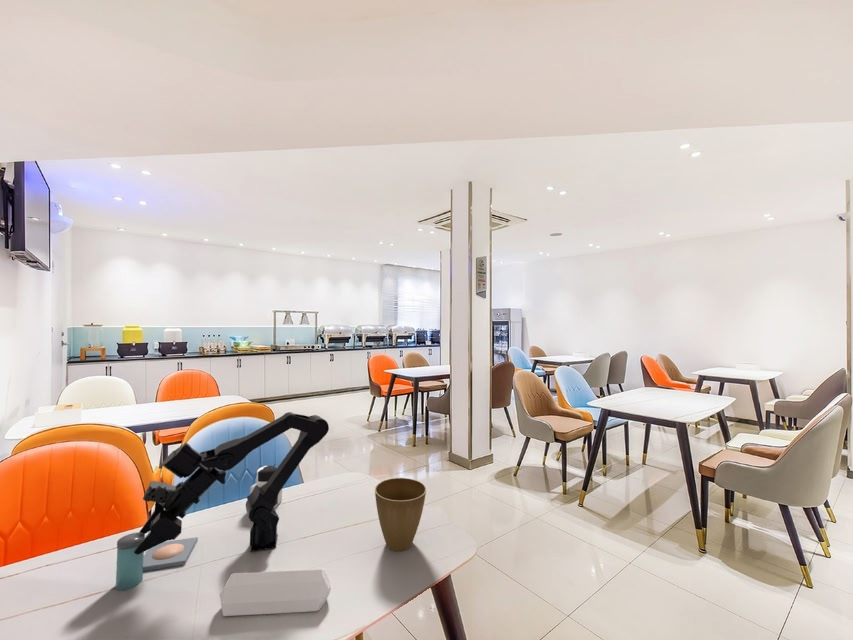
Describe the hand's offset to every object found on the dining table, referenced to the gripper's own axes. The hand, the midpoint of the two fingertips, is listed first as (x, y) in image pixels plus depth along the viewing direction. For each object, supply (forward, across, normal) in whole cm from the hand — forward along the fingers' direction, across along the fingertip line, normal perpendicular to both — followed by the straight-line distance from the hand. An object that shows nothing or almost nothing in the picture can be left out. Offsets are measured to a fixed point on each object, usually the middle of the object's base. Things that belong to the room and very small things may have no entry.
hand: (138, 543), depth 88 cm
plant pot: (-38, +20, +50) cm, 65 cm away
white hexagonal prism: (-13, +25, +26) cm, 38 cm away
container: (-17, -24, +30) cm, 42 cm away
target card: (+2, -8, +10) cm, 13 cm away
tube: (+7, 0, +5) cm, 9 cm away
